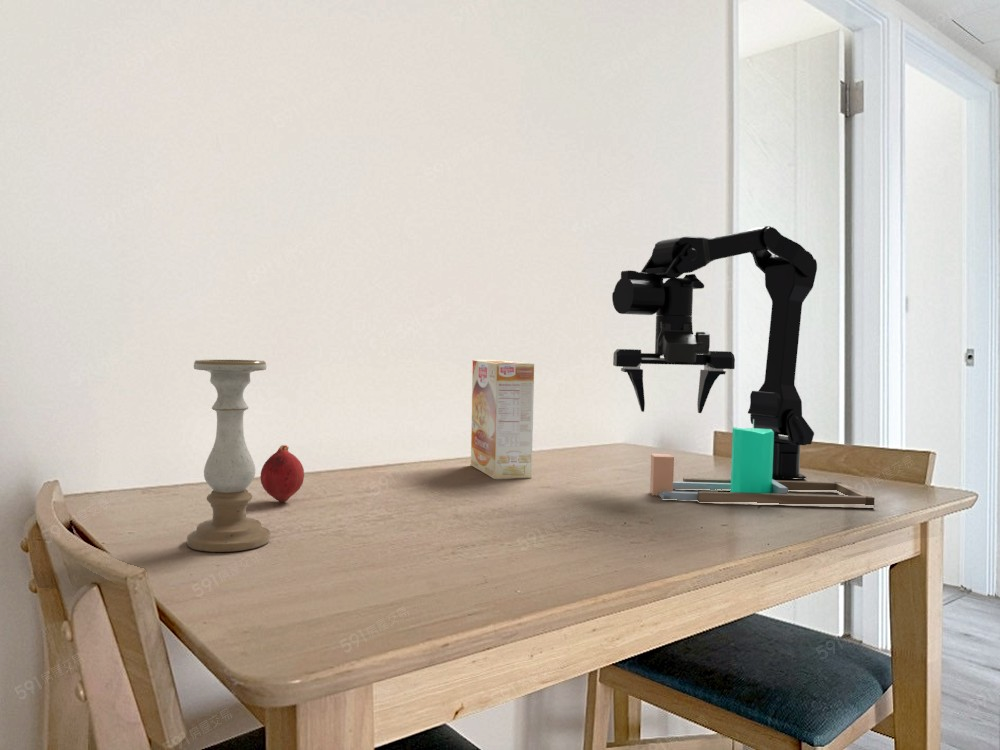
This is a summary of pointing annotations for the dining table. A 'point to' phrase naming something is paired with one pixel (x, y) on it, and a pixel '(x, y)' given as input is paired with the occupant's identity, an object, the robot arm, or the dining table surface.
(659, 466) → the frame
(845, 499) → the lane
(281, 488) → the onion
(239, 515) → the candle holder
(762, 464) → the candle
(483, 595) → the dining table surface
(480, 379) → the coffeecake box
